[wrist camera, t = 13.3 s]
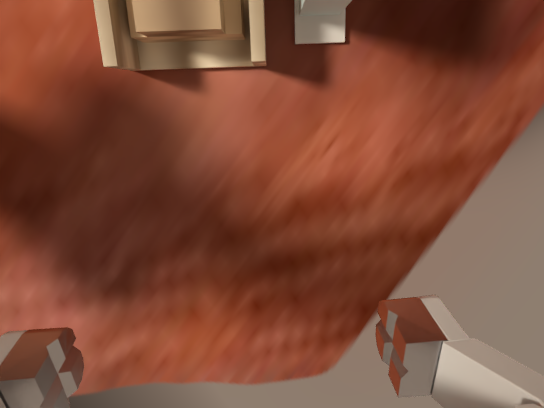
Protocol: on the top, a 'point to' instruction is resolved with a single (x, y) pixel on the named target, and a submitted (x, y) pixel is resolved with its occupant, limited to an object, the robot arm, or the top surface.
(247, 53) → the tray
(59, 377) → the robot arm
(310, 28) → the felt pad
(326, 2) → the pale green block
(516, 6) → the top surface
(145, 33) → the offcut short
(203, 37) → the block
